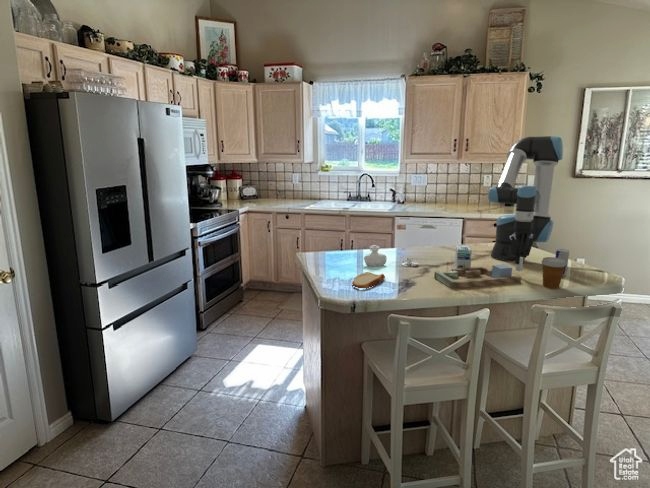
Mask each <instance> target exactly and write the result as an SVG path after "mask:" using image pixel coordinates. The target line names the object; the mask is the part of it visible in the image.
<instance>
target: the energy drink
mask: <svg viewBox="0 0 650 488" xmlns="http://www.w3.org/2000/svg"><path fill="white" fill-rule="evenodd" d="M569 257H570V252H569V250H568V249H562V248H558V249H556V251H555V258H560V259H564V260H565V262H566V265H565V267H564V271H563V275H562V278H563V277H567V272H568V265H569Z"/></svg>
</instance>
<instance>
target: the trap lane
mask: <svg viewBox="0 0 650 488" xmlns="http://www.w3.org/2000/svg"><path fill="white" fill-rule="evenodd" d="M481 274H484V275H486V276H488V278H477V279H465V280H455V279H454V278H459V276H460V275H461V276H462V275H464V277H465V278H473V277H475V278H476V277H481ZM489 277H490V278H489ZM433 279H436V280H437V281H439V282H441V283H442V284H444V285H446V286H447V287H448V288H450V289H462V288H464V289H465V288H474V287H484V286H485V287H486V285H487V286H495V285H496V286H498V285H507V284H508V283H509V284H517V283H521V282H522V276H520V275H512V276H510V277H499V278H492V268H491V269H489V268H487V267H483V266H477V267H475V266H474V267H470V268H462V269H456V268H451V271H450V270H449V271H439V270H438V271H437V270H436V271H434V277H433Z"/></svg>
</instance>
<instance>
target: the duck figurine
mask: <svg viewBox="0 0 650 488" xmlns="http://www.w3.org/2000/svg"><path fill="white" fill-rule="evenodd" d="M380 248H381V246H378V245H376V244H372V245H371V246H369V247H368V249H369V250H370V252H371V253H367V254H366V255H364V256H363V261H364V263H365V265H366V266H367V267H368V266H369V267H380V266H384V265H385V264H387V259H388V258H387V256H386V254H383V253H381V252H380V253H379V249H380Z"/></svg>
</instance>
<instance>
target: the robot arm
mask: <svg viewBox="0 0 650 488" xmlns="http://www.w3.org/2000/svg"><path fill="white" fill-rule="evenodd" d="M507 151H508V152H507V155H506V161H505V164H504V166H503V169H502V172H501V174H500V176H499V179H498V181H497V184H496V186H491V187H490V188H489V190H488V194H487V195H488V201H489V202H490V203H496V204H512V205H516V206H515V213H514V214H505V215H501V216H498V217H497V221H496V229H495V231H496V233H495V240H494V241H495V243H494V245H493V247H492V250H491V252H490V257H491V258H493V259H496V260H501V261H507V262H510V261H512V262H513V261H514V263H515V271H517V272H523V266H524V264H525V259H526V258H527V257H529V256H530V253H531V250H532V247H533V244H534V243H547V242H548V240H549V239H550V237H551V234H552V231H553V228H554V226H553V225H554V221H553V220H551V215H550V214H549V208H550V202H551V201H550V199H551V193H552V187H553V179H554V172H555V171H554V170H555V167H556V166H558V165H559V161H562V160H563V155H564V154H563V151H564V146H563V140H562V137H560V136H555V135H554V136H552V135H548V136H527V137H523V138H521V139H519V140H517V142H515V143H513V145H512V146H511V147H510V148H509V149H508V150H507ZM526 160H533V161H532V163H533V164H534V166H535V168H534V169H535V170H534V178H533V185H519V186H518V187H515V185H516V181H517V179H518V175H519V173H520V171H521V168H522V165H523V163H525V162H526Z"/></svg>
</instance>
